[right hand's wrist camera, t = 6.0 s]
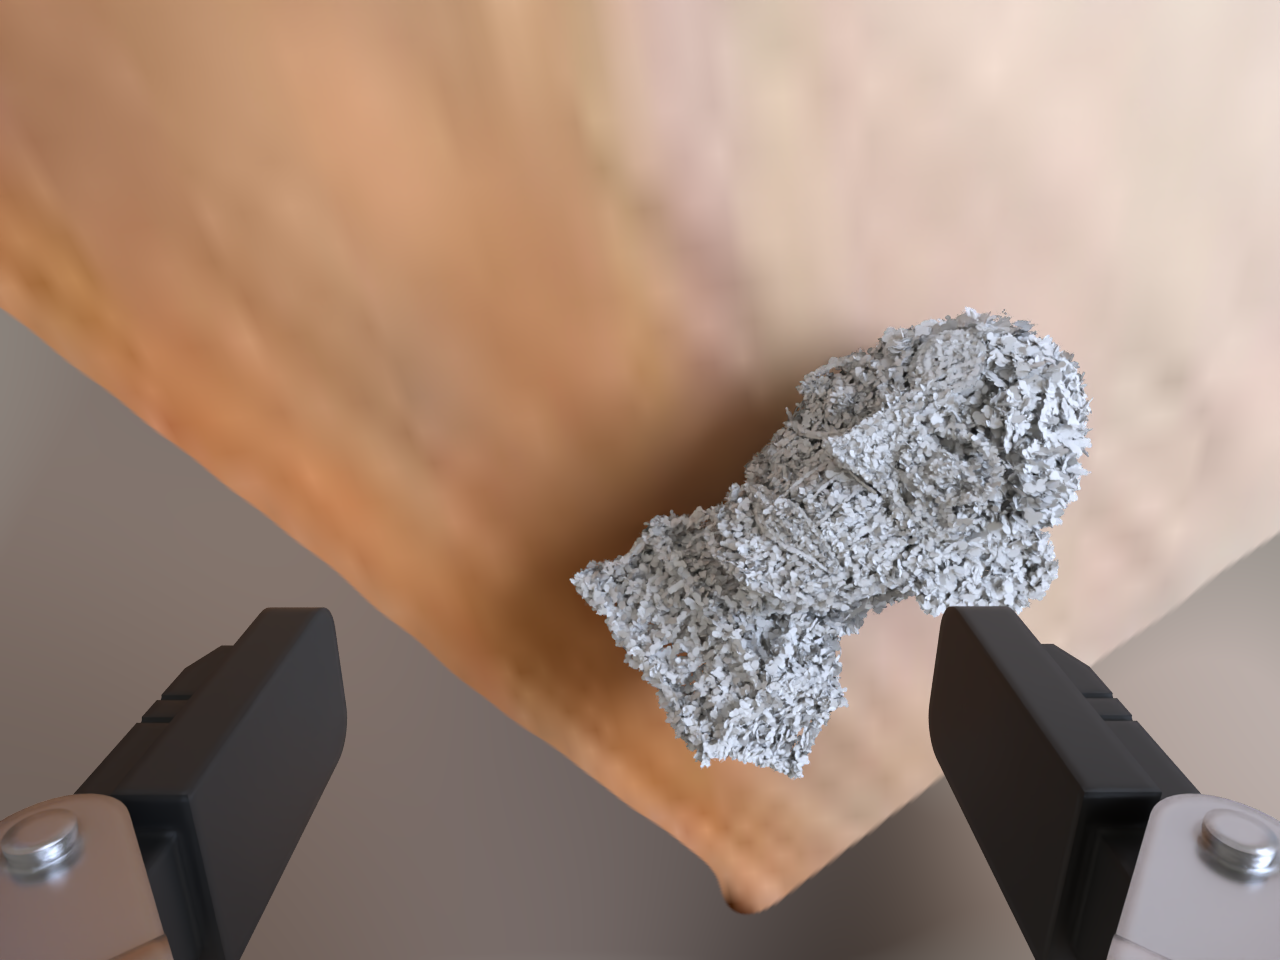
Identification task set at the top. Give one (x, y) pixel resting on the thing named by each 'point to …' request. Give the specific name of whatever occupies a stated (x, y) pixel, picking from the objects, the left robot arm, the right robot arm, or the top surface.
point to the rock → (852, 530)
